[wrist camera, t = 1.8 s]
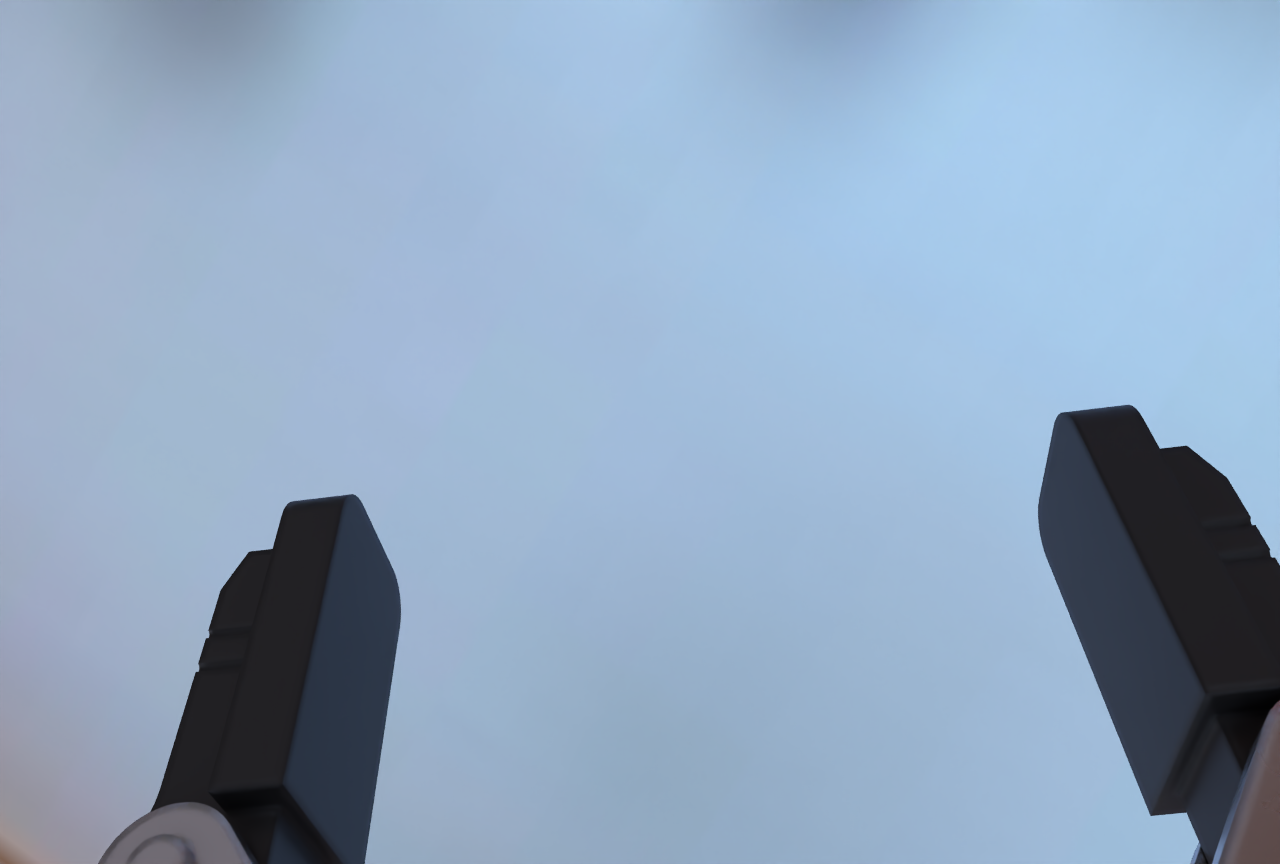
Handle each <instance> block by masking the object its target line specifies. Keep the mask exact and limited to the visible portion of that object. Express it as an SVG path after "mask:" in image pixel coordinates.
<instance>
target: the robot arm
mask: <svg viewBox="0 0 1280 864" xmlns="http://www.w3.org/2000/svg"><path fill="white" fill-rule="evenodd" d="M1250 518H1251V517H1250V515H1249V514H1248V512H1247V510H1246V509H1245V507H1244V505H1243V504H1242V502H1241V500H1240V499H1239V497H1238V495H1237V494H1236V492H1235V490H1234V489H1233V487H1232V485H1231V484H1230V482H1229V480H1228V479H1227V477H1225V476H1224V475H1223V474H1222V473H1220V472H1219V471H1218V470H1217V469H1215V468H1214V467H1213V466H1212V465H1210V464H1209V463H1208V462H1207V461H1205V460H1204V459H1203V458H1202V457H1200V456H1199V455H1198V454H1197V453H1195V452H1194V451H1193V450H1192V449H1190V448H1189V447H1188V446H1180V447H1172V448H1163V449H1160V448H1159V446H1158V445H1157V443H1156V441H1155V439H1154V437H1153V436H1152V434H1151V432H1150V430H1149V428H1148V427H1147V425H1146V423H1145V421H1144V419H1143V418H1142V416H1141V414H1140V413H1139V412H1138V410H1137V409H1136V408H1134V407H1133V406H1131V405H1123V406H1114V407H1106V408H1097V409H1089V410H1080V411H1072V412H1063V413H1060V414H1059V415H1058V416H1057V418H1056V420H1055V423H1054V428H1053V433H1052V438H1051V443H1050V448H1049V453H1048V458H1047V463H1046V468H1045V473H1044V478H1043V483H1042V488H1041V493H1040V498H1039V504H1038V520H1039V530H1040V536H1041V540H1042V545H1043V548H1044V552H1045V554H1046V557H1047V560H1048V562H1049V565H1050V567H1051V570H1052V572H1053V575H1054V577H1055V580H1056V582H1057V585H1058V587H1059V590H1060V592H1061V595H1062V597H1063V599H1064V602H1065V604H1066V607H1067V609H1068V612H1069V614H1070V617H1071V619H1072V622H1073V624H1074V627H1075V629H1076V632H1077V634H1078V637H1079V639H1080V642H1081V644H1082V647H1083V649H1084V652H1085V654H1086V657H1087V659H1088V662H1089V664H1090V666H1091V669H1092V671H1093V674H1094V676H1095V679H1096V681H1097V684H1098V686H1099V689H1100V691H1101V694H1102V696H1103V699H1104V701H1105V704H1106V706H1107V709H1108V711H1109V714H1110V716H1111V719H1112V721H1113V724H1114V726H1115V729H1116V731H1117V734H1118V736H1119V738H1120V741H1121V743H1122V746H1123V748H1124V751H1125V753H1126V756H1127V758H1128V761H1129V763H1130V766H1131V768H1132V771H1133V773H1134V776H1135V778H1136V781H1137V783H1138V786H1139V788H1140V791H1141V793H1142V796H1143V798H1144V801H1145V803H1146V805H1147V808H1148V810H1149V813H1150V815H1151V816H1154V815H1165V814H1175V813H1186V812H1187V814H1188V817H1189V819H1190V821H1191V824H1192V826H1193V828H1194V831H1195V833H1196V835H1197V838H1198V840H1199V843H1198V845H1197V848H1196V850H1195V852H1194V855H1193V858H1192V860H1191V863H1190V864H1280V565H1279V563H1278V562H1277V560H1276V558H1272V557H1271V556H1270V548H1269V547H1268V545H1267V544H1266V542H1265V540H1264V539H1263V537H1262V535H1261V534H1260V532H1259V530H1258V529H1257V527H1256V525H1252V524H1251V521H1250ZM400 620H401V604H400V593H399V587H398V583H397V579H396V576H395V573H394V570H393V568H392V566H391V564H390V562H389V560H388V558H387V555H386V553H385V551H384V549H383V547H382V545H381V543H380V540H379V538H378V536H377V534H376V532H375V530H374V528H373V525H372V523H371V521H370V519H369V517H368V515H367V513H366V510H365V508H364V506H363V504H362V502H361V501H360V499H359V498H358V497H357V496H356V495H353V494H351V495H343V496H334V497H326V498H318V499H309V500H301V501H293V502H290V503H288V504H287V506H286V507H285V509H284V511H283V514H282V517H281V520H280V524H279V528H278V531H277V535H276V539H275V542H274V546H273V549H269V550H260V551H251V552H249V553H248V554H247V555H246V557H245V558H244V559H243V561H242V562H241V563H240V565H239V566H238V567H237V569H236V570H235V571H234V573H233V574H232V575H231V577H230V578H229V579H228V581H227V582H226V584H225V585H224V586H223V588H222V589H221V591H220V594H219V598H218V601H217V604H216V607H215V611H214V614H213V617H212V620H211V624H210V627H209V630H208V631H209V634H210V635H209V638H206V640H205V643H204V647H203V650H202V653H201V657H200V660H199V663H198V664H199V672H196V673H195V676H194V680H193V683H192V686H191V689H190V693H189V696H188V699H187V703H186V706H185V709H184V712H183V716H182V719H181V722H180V725H179V729H178V732H177V735H176V739H175V742H174V745H173V748H172V752H171V755H170V758H169V762H168V765H167V768H166V771H165V775H164V778H163V781H162V785H161V788H160V791H159V794H158V796H157V799H156V802H155V804H154V806H153V808H152V810H151V812H150V813H148V814H146V815H144V816H143V817H141V818H140V819H138V820H136V821H135V822H134V823H133V824H131V825H130V826H129V827H127V828H126V829H125V830H124V831H123V832H122V833H121V834H120V835H119V836H118V837H117V838H116V839H115V840H114V841H113V843H112V844H111V845H110V846H109V848H108V849H107V850H106V852H105V853H104V855H103V856H102V858H101V860H100V861H99V863H98V864H364V863H365V857H366V850H367V843H368V836H369V830H370V823H371V816H372V810H373V803H374V796H375V789H376V783H377V776H378V769H379V763H380V756H381V749H382V743H383V736H384V729H385V722H386V716H387V709H388V702H389V696H390V689H391V682H392V676H393V669H394V662H395V655H396V649H397V642H398V635H399V629H400Z"/></svg>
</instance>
